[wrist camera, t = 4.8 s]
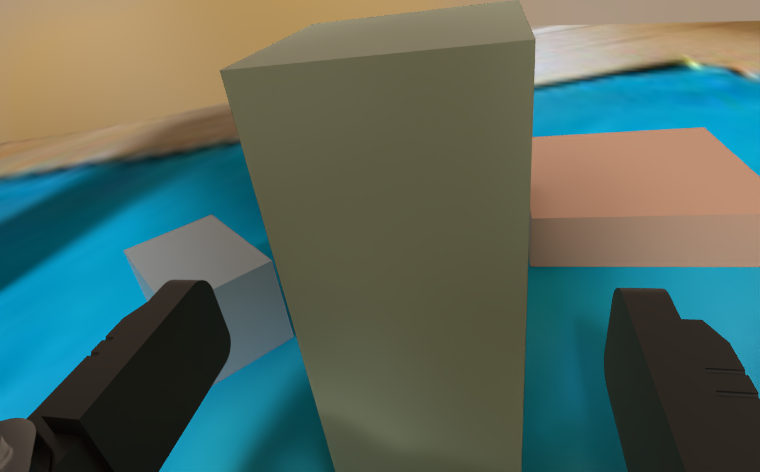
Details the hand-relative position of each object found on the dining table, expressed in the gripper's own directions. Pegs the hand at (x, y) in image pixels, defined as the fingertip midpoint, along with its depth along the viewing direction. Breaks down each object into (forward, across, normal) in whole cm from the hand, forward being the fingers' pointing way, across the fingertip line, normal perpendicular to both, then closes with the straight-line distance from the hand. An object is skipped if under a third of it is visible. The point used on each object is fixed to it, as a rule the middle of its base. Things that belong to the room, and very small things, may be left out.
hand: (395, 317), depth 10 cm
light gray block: (+7, +10, +7) cm, 14 cm away
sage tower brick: (+3, 0, +7) cm, 8 cm away
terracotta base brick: (+17, -8, +8) cm, 20 cm away
